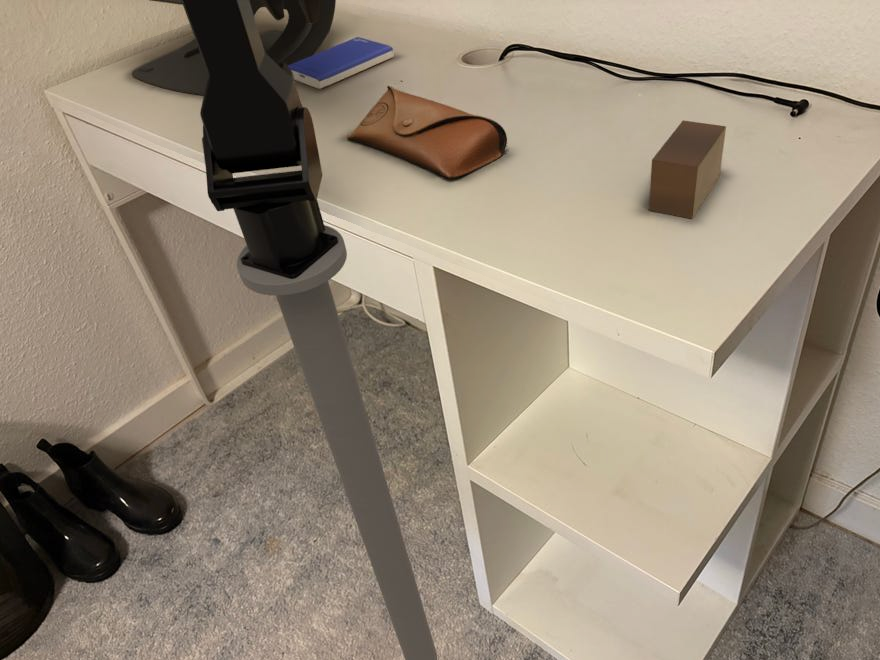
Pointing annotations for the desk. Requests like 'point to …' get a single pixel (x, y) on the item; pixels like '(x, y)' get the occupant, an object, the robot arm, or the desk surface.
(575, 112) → the desk surface
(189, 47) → the laptop stand
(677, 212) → the walnut block
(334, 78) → the hard drive
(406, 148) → the sunglasses case
